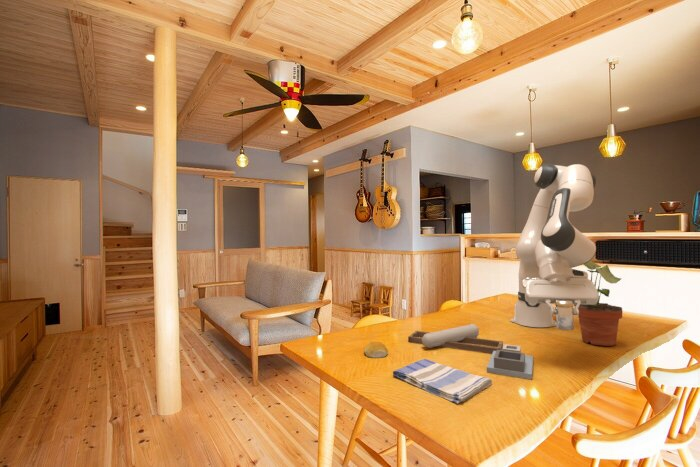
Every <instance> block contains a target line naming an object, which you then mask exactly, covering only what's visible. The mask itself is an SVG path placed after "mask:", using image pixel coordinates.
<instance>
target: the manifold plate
mask: <svg viewBox="0 0 700 467" xmlns="http://www.w3.org/2000/svg"><path fill="white" fill-rule="evenodd" d="M521 348H522V346H520V345H514V344H507V343H506V344H505V343H503V348H502V350H497V351H493V353H492V354H491V356H490V359H489V360H488V363H487V365H486V373H489V374H494V375H495V374H496V375H501V376H506V377H507V376H508V377H512V378H513V377H514V378H519V379H520V378H521V379H525V380H531V381H532V379H533V367H534V355H528V354H526V353H525V352H522V349H521Z"/></svg>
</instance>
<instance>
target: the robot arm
mask: <svg viewBox="0 0 700 467" xmlns="http://www.w3.org/2000/svg"><path fill="white" fill-rule="evenodd" d="M534 174H535V175H534V179H533V182H534V186H535V187H537V188H539V191H538V193H537V194H536V197H535V200H534V202H533V204H532V208H531V209H530V212H529V215H528V217H527V218H528V219H527V221H526V224H525V225H524V227H523V230H522V231H521V234H520V235H519V238H518V241H517V243H516V245H515V254H516V256H517V258H518V259H519V268H518V291H517V299H518V301H517V302H516V303H514V316H513V317H511V318H510V319H509V321H510V322H511V323H515V324H518V325H520V326H525V327H529V328H550V327H557V321H556V319H554V318H553V317H554V315H555V316H556V315H557V310H556V306H553V305H555V301H556V300H559V299H564V300H571V301H572V302H573V316H578V315H579V310H578V308H579V306H580V304H587V305H595V304H596V303H597V302H598V300H599V296H600V294H598V291H597V289H598V288H596V287H595V283H594V282H593V280H592V281H591V279H589V274H588V272H587V271H585V270H579V269H575V268H576V267H579V266H582V265H583V266H584V264H585V263H587V262H589V261H592V260H593V259H594V257H595V255H596V252H597V245H596V243H595V242H593V241H592V240H591V239H590V238H589V237H587V236H586V235H585V234H584V233H582V232H581V231H580V230H579V229H577V228H576V227H575V226H574V225H573V224H572V223H571V222H570V220H569V216H570V212H572V213H574V212H580V211H583V210H585V209H587V208H588V207H589V206H591V204H592V203H593V200H594V195H595V194H594V193H595V192H594V190H595V187H596V184H597V177H596V175H595V174H593V173H591V171H590V169H589V168H588V166H586V165H584V164H580V163H577V164H576V163H575V164H570V165H568V166H565V165H557V164H554V163H543V164H542V165H540V166H539V167H538V168H537V170H536V171H535V173H534ZM599 301H600V300H599ZM552 304H553V305H552ZM575 306H576V307H575Z"/></svg>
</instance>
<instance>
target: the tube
mask: <svg viewBox="0 0 700 467" xmlns="http://www.w3.org/2000/svg"><path fill="white" fill-rule="evenodd" d="M479 330H480V329H479V328H478V326H477V325H476V324H475V323H470V324H466V325H465V324H464V325H461V326H456V327H451V328H446V329H443V330H437V331H433V332H430V333H427V334H425V335H424V336H423V337H421V338H422V343H423V344H422V345H423V347H427V348H428V349H432V348H435V347H441V345H443V344H444V343H445V342H447V341H450V342H457V343H459V342H458V341H462V340H463V339H464V338H466V337H471V338H478V336H479V335H480V331H479Z"/></svg>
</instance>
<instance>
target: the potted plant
mask: <svg viewBox="0 0 700 467" xmlns="http://www.w3.org/2000/svg"><path fill="white" fill-rule="evenodd" d="M608 265H609V264H606V265H604V266H603V267H602V266H601V265H599V263H596V262H594V261H592V260H590V261H589V262H587V263H585V264H583V266H584V267H586V268H587V271H588V272H589V273H591V274H590V280H591V281H592V282H593V273H597V274H596V276H595V277H596V278H595V281H594V285H595V287H596V285H597V279H598V276H599V275H600V277H599V279H601V278H603V279H604V280H605V281H606V282H607V283H609V284H617V283H618V282H620V281H621V280H622V278H621V277H617V276H615V275H614V274H613V273H612V272H611V270H610V267H609V266H608ZM598 281H599V282H598V287H597V288H596V289H597V291H598V294H599V293H600V294H599V300H598V302H597V303H596V304H595V305H587V304H580V306H579V308H578V310H579V315H577V317H578V321H579V327H580V332H581V338H582V341H583V342H584V343H586V344H589V343H590V344H591V345H594V346H604V347H605V346H606V347H610V346H611V347H612V346H615V345H616V344H617V335H618V331H619V329H618V328H619V322H620V319H622V318H623V307H621V306H616V305H612V304H608V303H606V302H605V303H604V302H600V300H601V294H602V295H603V296H606V297H610V289H608V288H601V289H600V284H601V280H598ZM575 307H576V306H574V308H575Z"/></svg>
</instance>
